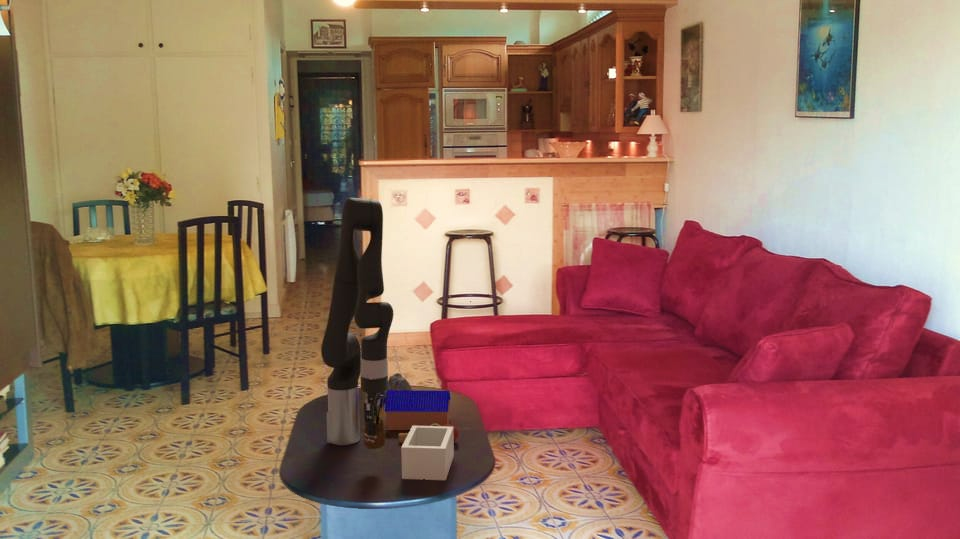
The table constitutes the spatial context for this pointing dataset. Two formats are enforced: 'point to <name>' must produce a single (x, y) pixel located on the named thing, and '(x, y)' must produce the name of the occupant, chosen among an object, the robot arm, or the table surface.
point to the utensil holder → (379, 438)
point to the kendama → (403, 435)
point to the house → (416, 408)
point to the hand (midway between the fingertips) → (374, 431)
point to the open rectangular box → (427, 452)
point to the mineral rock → (397, 383)
